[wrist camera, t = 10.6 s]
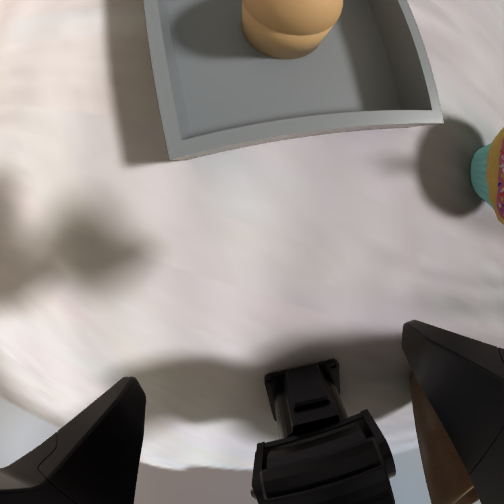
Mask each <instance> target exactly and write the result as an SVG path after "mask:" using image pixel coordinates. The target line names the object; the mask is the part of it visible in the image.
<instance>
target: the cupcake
mask: <svg viewBox="0 0 504 504" xmlns="http://www.w3.org/2000/svg"><path fill="white" fill-rule="evenodd" d="M470 174H471V181H472V185H473V188H474V190H475V192H476V193H477V195H478V196H479V197H480V198H482V199H483V200H485V201H486V202H487V203H488V204H489V205H490V206H491V207H492V208H493V209H494V210H495V213H496V215H497V218H498V220H499V221H500V222H501V223H502V224H504V128H503V129H502V130H501V131H500V132H499V133H498V135H497V136H496V137H495V139H494V140H493V142H492V143H491V144H489V145H487V146H484V147H482V148H480V149H478V150H477V151H476V152H475V154H474V156H473V158H472V162H471V169H470Z"/></svg>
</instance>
